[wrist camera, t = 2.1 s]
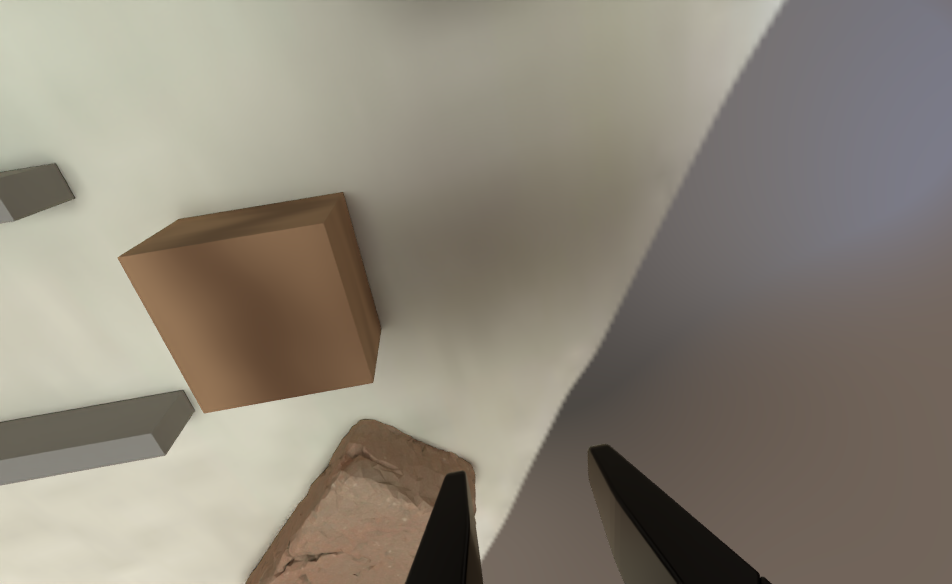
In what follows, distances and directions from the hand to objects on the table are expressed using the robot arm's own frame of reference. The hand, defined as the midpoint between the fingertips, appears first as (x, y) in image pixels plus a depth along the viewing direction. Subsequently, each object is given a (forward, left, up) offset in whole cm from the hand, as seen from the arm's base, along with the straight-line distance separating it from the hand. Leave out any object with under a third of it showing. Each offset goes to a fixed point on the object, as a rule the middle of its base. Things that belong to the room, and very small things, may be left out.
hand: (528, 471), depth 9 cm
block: (+9, 0, -13) cm, 16 cm away
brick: (+10, +17, -14) cm, 24 cm away
